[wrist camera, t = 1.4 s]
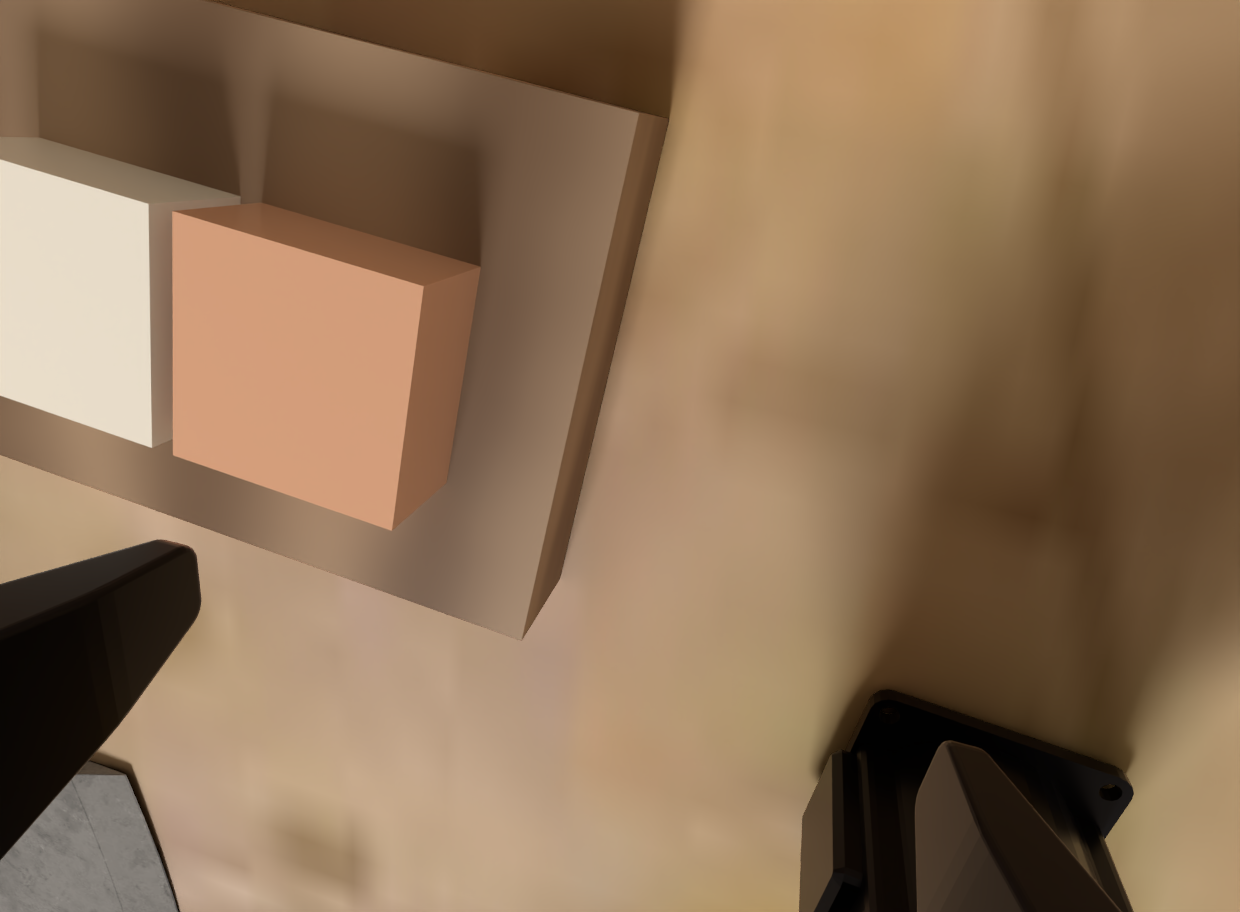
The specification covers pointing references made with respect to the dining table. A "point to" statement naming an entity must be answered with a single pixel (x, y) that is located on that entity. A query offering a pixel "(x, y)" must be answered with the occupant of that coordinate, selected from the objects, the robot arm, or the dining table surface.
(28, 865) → the cleaver
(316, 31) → the tan board
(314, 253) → the terracotta tile
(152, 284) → the cream tile
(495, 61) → the dining table surface
